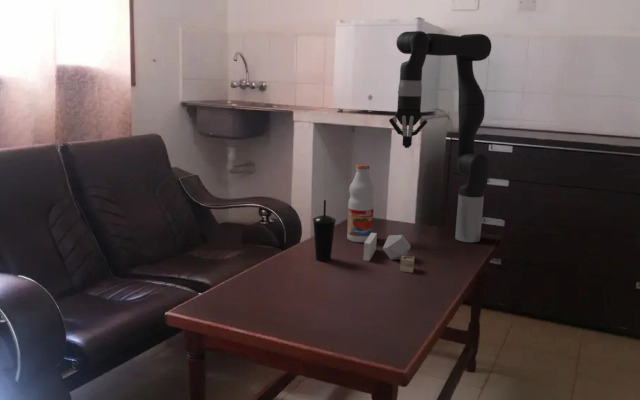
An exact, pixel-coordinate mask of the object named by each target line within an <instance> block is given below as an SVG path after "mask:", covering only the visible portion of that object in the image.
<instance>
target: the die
mask: <svg viewBox="0 0 640 400" xmlns="http://www.w3.org/2000/svg"><path fill="white" fill-rule="evenodd" d="M411 247H412V246H411V244H410V242H409V241H408V240H407V239H406V238H405V236H404V235H403V234H395V235H394V234H391V235H389V234H388V237H387V238H386V240H385V242H384V245H383V246H382V250H383V251H384V252H385V254H386V255H387V257H388V258H389V260H390V261H395V260H401V257H402V256H408V254H409V251H410V249H411Z"/></svg>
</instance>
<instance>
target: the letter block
mask: <svg viewBox="0 0 640 400" xmlns="http://www.w3.org/2000/svg"><path fill="white" fill-rule="evenodd" d="M414 267H415V256H410V255H409V256H408V255H406V256H402V257H401V259H400V264H399V271H400V272H404V273H412V274H413V273H414V270H415V269H414Z"/></svg>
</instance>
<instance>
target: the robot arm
mask: <svg viewBox="0 0 640 400" xmlns="http://www.w3.org/2000/svg"><path fill="white" fill-rule="evenodd" d="M396 47H397V49H398V51H399V52H400V53H402V54H404V55H410V56H409V58H408V60H407V61H404V62H402V63H401V65H400V69H399V70H400V71H399V75H400V76H399V83H398V84H399V85H398V91H397V108H396V109H397V110H396V112H395V116H393V117H392V118H389V121H388V122H389V124H390V125H391V126H392V127H393V129H394V130H395V132H396V133H397V135H401V137H402V146H403V147H404V149H409V148H410V147H411V146H412V141H413V136H416V135H418V133H420V132H421V130H422V129H423V128H424V127H425V126H426V124H427V123H428V120H427V119H425V118H424V117H423V115H422V111H421V109H422V108H421V107H422V106H421V105H422V94H423V93H422V92H423V91H422V90H423V88H422V87H423V85H422V80H423V79H422V77H423V67H424V64H425V61H426V57H427V56H440V57H441V56H442V57H443V56H445V57H446V56H447V57H448V56H455V58H456V59H455V60H456V69H457V81H458V82H457V83H458V102H457V103H458V104H457V105H458V113H457V114H458V133H457V134H458V137H457V139H458V140H457V151H456V169H457V172H458V174H460V175H462V176H465V177H468V178H467V179H468V180H467V183H466V184H463V185H461V186H459V187H458V195H457V196H458V199H457V208H456V209H457V212H456V221H455V223H456V224H455V236H454V239H455V240H456V241H460V242H462V243H463V242H464V243H478V242H480V241H481V233H482V221H483V210H484V198H485V191H486V189H487V188H488V187H487V186H488V180H489V173H490V160H489V157H488V156H487V155H486V154H484V153H482V152H476V151H475V139H476V135H477V133H478V131H479V128H480V127H481V125H482V123H483V121H484V118H485V106H486V105H485V102H486V101H485V95H484V92H483V90H482V89H481V87H480V85H479V83H478V82H477V79H476V78H475V74H474V68H473V66H474V65H473V62H481V61H484V60H486V59H487V58H488V57H489V56H490V54H491V51H492V41H491V39H490V38H489V36H487V35H486V34H483V33H473V34H472V33H471V34H467V33H466V34H462V35H460V36H459V35H451V34H443V33H434V32H429V33H426V32H424V31H422V30H416V31H404V32H401V33H400V35H398V37H397V39H396ZM398 122H399V124H400V125H401V126H402V129H401V128H400V126H399V125H398V124H397V123H398ZM418 122H419V126H418V127H417V128H416V129H415V130H414V126H415V125H417V123H418Z"/></svg>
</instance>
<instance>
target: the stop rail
mask: <svg viewBox="0 0 640 400" xmlns="http://www.w3.org/2000/svg"><path fill="white" fill-rule="evenodd" d="M377 233H378V232H372V233H371V234H370V235H369V237H368V238H367V240H366V241H365V242H363V258H362V259H363V261H365V262H370V261H371V259H372V257H373V256H374V254H375V252H376V250H377V239H378V238H377V237H378V236H377V235H378V234H377Z"/></svg>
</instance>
